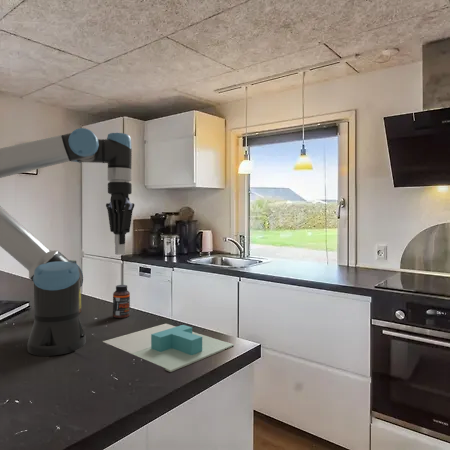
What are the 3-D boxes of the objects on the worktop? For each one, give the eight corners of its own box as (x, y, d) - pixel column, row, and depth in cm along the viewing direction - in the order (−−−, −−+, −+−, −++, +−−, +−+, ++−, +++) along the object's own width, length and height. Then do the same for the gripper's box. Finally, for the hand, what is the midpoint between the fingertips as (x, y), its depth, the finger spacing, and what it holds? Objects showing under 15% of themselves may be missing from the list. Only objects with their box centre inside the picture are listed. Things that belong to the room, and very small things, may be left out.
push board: (170, 372, 93) (170, 370, 93) (102, 343, 112) (102, 341, 112) (233, 346, 111) (233, 344, 111) (165, 324, 131) (165, 323, 131)
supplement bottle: (119, 319, 136) (119, 287, 136) (109, 316, 140) (109, 285, 140) (133, 316, 141) (133, 285, 141) (122, 313, 145) (122, 283, 144)
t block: (180, 359, 99) (180, 344, 99) (151, 348, 107) (151, 334, 107) (212, 347, 109) (212, 333, 108) (182, 337, 116) (182, 324, 116)
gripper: (141, 181, 124) (141, 254, 125) (118, 183, 132) (118, 251, 133) (121, 180, 118) (121, 256, 119) (98, 182, 127) (99, 253, 128)
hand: (120, 254), depth 126 cm, fingers closed
